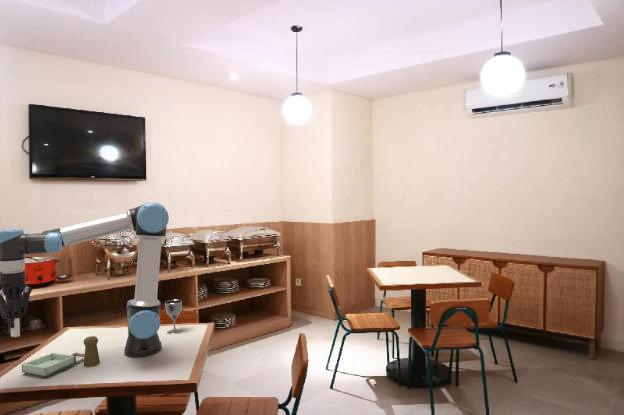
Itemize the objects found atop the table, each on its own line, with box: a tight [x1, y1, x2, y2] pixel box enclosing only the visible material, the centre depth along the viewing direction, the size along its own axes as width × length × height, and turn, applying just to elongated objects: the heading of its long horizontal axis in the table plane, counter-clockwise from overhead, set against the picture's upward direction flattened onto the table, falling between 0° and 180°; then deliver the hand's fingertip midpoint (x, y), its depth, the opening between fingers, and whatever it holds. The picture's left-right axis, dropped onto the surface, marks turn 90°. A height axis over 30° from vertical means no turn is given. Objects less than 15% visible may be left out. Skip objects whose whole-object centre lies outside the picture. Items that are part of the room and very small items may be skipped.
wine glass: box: [164, 299, 183, 335], centre depth 217 cm, size 8×8×15 cm
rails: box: [23, 352, 85, 379], centre depth 176 cm, size 11×23×1 cm, turn 159°
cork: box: [83, 335, 101, 368], centre depth 177 cm, size 6×6×11 cm
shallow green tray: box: [21, 352, 77, 377], centre depth 171 cm, size 13×13×3 cm
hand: (15, 336), depth 159 cm, fingers closed
